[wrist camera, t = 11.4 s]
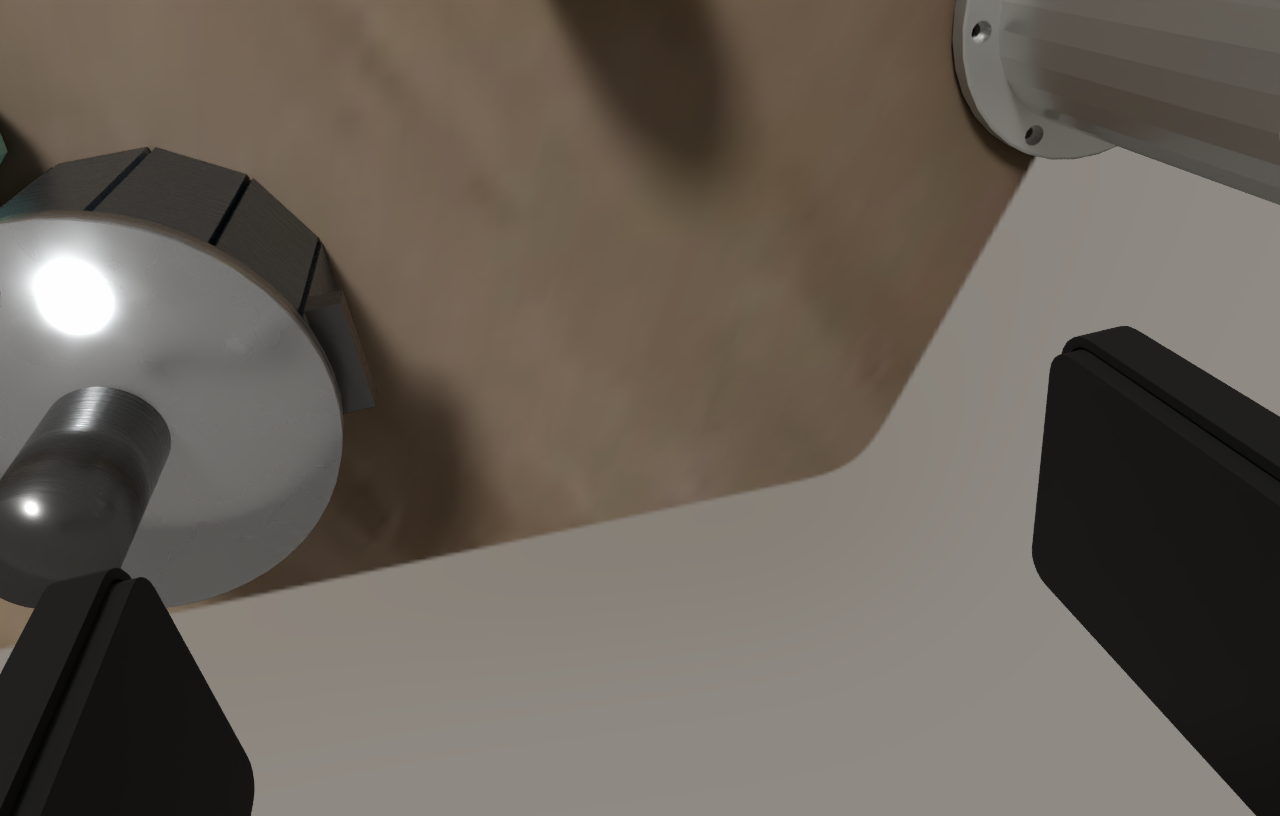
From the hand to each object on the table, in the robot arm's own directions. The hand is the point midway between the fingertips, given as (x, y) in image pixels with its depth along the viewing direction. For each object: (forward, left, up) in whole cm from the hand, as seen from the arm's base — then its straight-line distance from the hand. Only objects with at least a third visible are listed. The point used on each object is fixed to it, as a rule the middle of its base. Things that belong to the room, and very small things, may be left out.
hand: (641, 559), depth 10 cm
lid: (+14, +7, -21) cm, 26 cm away
